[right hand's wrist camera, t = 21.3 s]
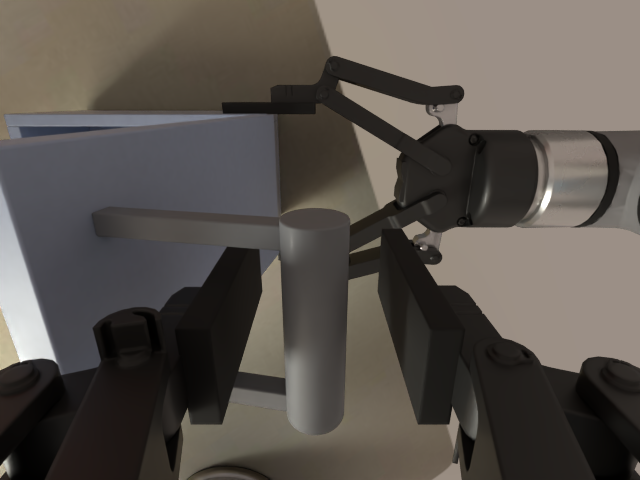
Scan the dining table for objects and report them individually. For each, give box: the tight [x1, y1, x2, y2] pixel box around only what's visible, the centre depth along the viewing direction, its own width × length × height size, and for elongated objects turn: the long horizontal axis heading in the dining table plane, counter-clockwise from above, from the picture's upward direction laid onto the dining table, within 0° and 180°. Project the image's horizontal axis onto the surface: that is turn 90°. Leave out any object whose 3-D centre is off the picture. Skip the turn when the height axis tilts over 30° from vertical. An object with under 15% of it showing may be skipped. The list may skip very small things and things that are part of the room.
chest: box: [4, 110, 281, 217], centre depth 31 cm, size 18×10×9 cm, turn 90°
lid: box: [0, 115, 350, 435], centre depth 17 cm, size 18×10×8 cm
